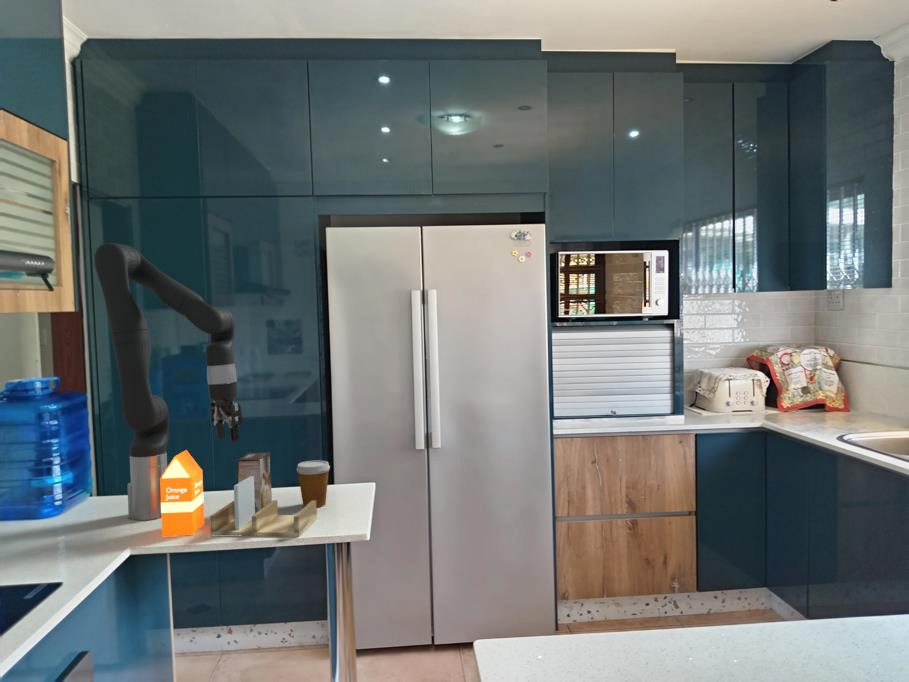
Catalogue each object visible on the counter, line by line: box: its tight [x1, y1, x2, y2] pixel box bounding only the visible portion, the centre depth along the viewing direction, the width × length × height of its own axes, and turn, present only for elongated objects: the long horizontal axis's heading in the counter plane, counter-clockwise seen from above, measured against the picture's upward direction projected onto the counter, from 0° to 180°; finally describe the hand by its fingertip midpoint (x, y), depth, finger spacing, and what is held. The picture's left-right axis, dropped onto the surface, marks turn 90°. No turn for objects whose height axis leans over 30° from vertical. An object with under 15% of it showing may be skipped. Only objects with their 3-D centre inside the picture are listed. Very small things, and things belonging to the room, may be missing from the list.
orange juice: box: [160, 449, 205, 537], centre depth 165 cm, size 8×9×20 cm
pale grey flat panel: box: [233, 476, 255, 530], centre depth 166 cm, size 1×10×11 cm, turn 174°
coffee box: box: [237, 451, 273, 513], centre depth 179 cm, size 9×6×16 cm
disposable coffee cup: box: [295, 459, 331, 508], centre depth 185 cm, size 10×10×12 cm
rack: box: [209, 499, 318, 538], centre depth 166 cm, size 23×14×5 cm, turn 85°
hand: (228, 439), depth 177 cm, fingers open, 8 cm apart
